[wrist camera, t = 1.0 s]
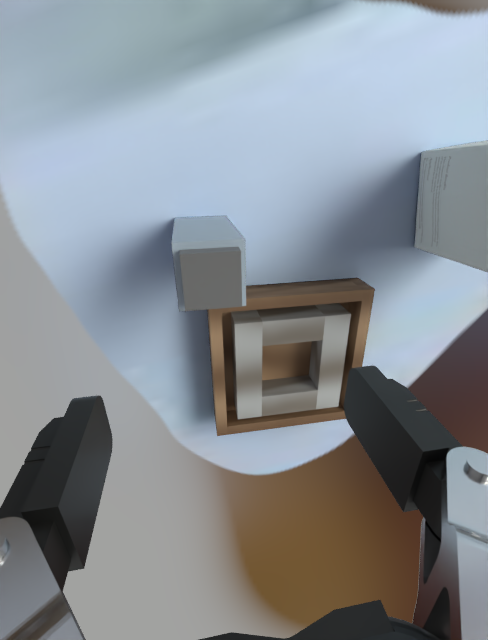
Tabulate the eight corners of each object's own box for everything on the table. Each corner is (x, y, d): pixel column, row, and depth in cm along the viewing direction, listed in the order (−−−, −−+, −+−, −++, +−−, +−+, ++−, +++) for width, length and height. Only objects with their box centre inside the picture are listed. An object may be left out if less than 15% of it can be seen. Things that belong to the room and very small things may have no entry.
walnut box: (205, 288, 28) (208, 303, 26) (357, 277, 30) (376, 290, 27) (214, 414, 35) (217, 438, 32) (341, 398, 36) (354, 419, 34)
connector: (174, 217, 26) (170, 247, 17) (226, 215, 26) (248, 242, 17) (179, 267, 27) (178, 318, 18) (227, 264, 28) (249, 312, 19)
